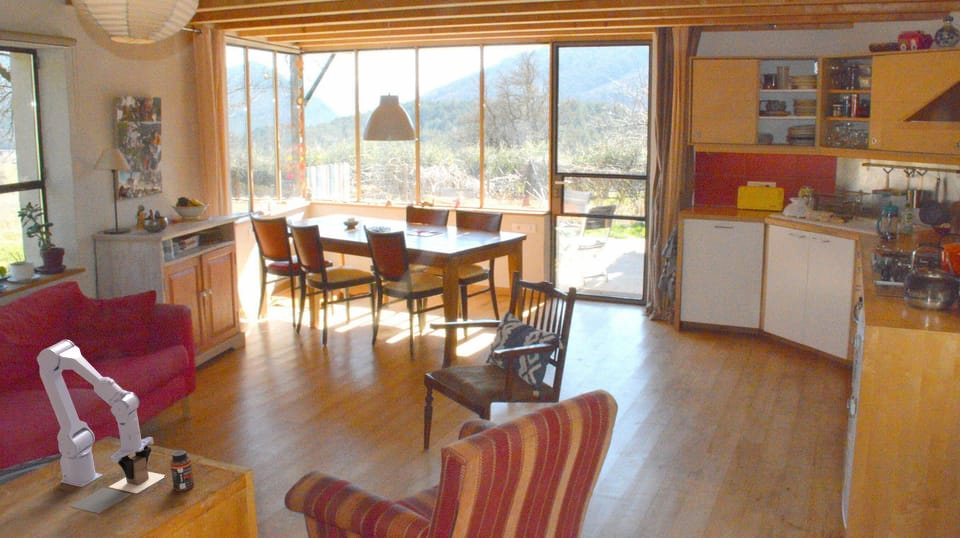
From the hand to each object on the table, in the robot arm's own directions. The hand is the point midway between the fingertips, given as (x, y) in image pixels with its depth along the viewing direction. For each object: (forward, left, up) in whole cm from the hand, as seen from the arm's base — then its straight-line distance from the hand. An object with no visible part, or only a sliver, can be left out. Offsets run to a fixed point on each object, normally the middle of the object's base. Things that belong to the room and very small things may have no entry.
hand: (136, 474), depth 270 cm
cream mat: (0, 0, -2) cm, 2 cm away
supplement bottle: (+17, +2, -3) cm, 17 cm away
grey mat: (-1, -13, -2) cm, 13 cm away
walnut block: (0, 0, -2) cm, 2 cm away
